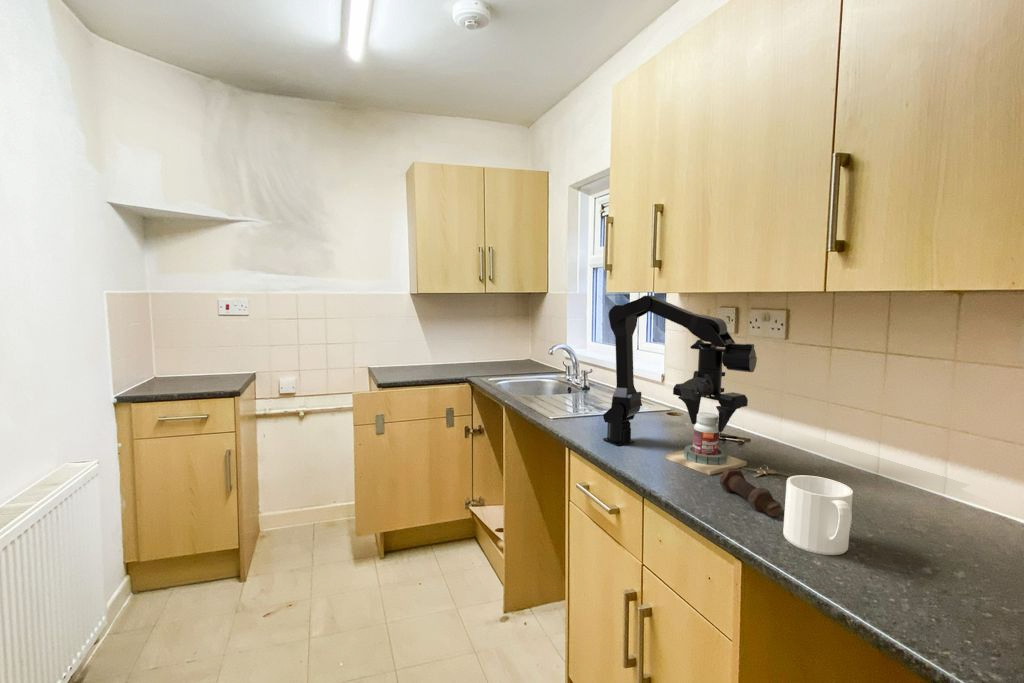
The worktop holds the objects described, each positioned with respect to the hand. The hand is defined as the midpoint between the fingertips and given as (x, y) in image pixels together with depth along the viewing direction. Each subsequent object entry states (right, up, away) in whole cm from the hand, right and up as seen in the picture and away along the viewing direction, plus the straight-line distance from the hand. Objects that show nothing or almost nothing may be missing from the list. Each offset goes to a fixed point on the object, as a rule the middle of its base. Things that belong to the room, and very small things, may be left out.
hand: (706, 427), depth 132 cm
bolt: (0, -12, -24) cm, 27 cm away
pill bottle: (0, -8, +1) cm, 8 cm away
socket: (0, -9, +1) cm, 9 cm away
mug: (+4, -14, -42) cm, 44 cm away
